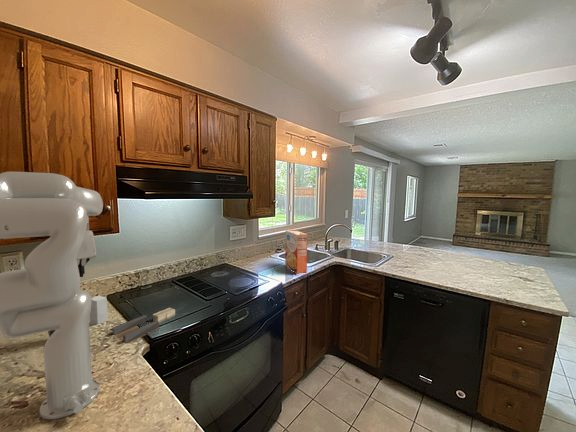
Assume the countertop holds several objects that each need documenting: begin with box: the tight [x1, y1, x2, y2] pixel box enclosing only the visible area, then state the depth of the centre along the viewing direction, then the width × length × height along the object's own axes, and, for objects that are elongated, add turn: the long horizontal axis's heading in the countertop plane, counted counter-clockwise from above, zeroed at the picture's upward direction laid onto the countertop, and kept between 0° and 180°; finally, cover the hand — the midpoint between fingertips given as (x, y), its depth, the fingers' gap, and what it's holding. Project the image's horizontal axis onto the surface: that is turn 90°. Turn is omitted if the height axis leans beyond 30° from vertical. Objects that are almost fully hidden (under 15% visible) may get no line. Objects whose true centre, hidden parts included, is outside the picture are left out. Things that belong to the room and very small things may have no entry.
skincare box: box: [89, 295, 109, 326], centre depth 109 cm, size 6×4×12 cm
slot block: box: [111, 314, 161, 345], centre depth 102 cm, size 13×13×4 cm
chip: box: [152, 310, 168, 324], centre depth 111 cm, size 4×4×4 cm
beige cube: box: [162, 307, 176, 320], centre depth 114 cm, size 4×4×4 cm
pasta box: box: [284, 229, 308, 275], centre depth 190 cm, size 23×8×30 cm, turn 22°
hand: (79, 276), depth 92 cm, fingers closed
